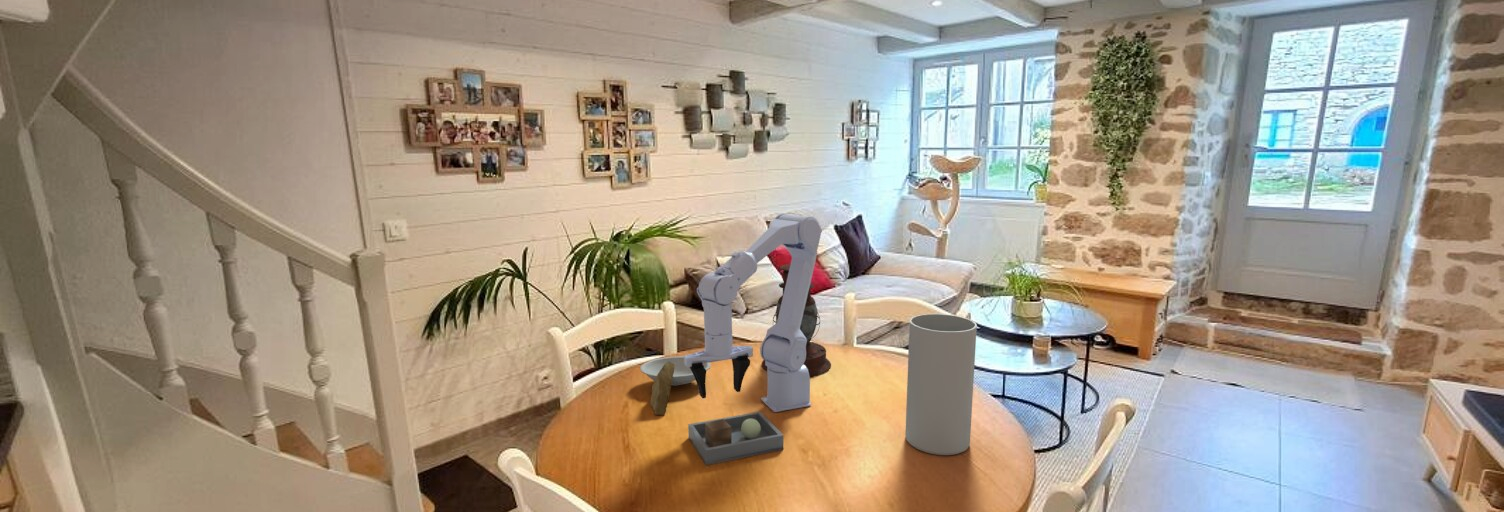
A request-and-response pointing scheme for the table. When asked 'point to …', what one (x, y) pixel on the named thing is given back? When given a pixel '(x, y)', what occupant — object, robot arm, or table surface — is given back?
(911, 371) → the cylinder vase
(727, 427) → the walnut cube
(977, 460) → the table surface
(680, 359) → the dish
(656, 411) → the rock
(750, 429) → the green ball
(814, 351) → the lantern
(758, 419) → the serving tray
